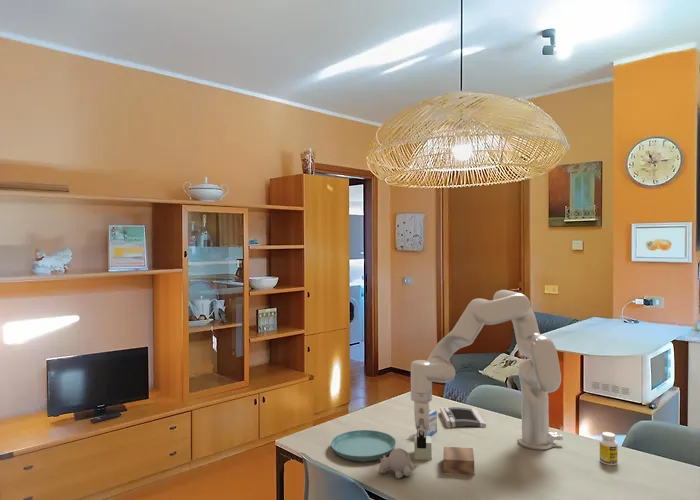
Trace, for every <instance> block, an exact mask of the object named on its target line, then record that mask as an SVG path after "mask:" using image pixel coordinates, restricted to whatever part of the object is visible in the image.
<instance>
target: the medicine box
mask: <svg viewBox="0 0 700 500" xmlns="http://www.w3.org/2000/svg"><path fill="white" fill-rule="evenodd" d="M435 432H436V433H437V432H438V413H437V410H435V409H431V408H429V430H426V436H431V437H432V435H434V434H436V433H435Z"/></svg>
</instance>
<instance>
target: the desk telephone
mask: <svg viewBox="0 0 700 500" xmlns="http://www.w3.org/2000/svg"><path fill="white" fill-rule="evenodd" d="M439 410H440V414H441V417H442V418H443V421H444V423H445V426H446V427H447V428H448V429H451V428H456V427H466V426H469V427H479V428H486V427H487V423H486V420H485V419H484V417H483V416H482V415H481V414H480V412H479V411H478V410H477V409H476V408H473V407H471V408H467V407H459V406H458V407H457V406H456V407H454V406H453V407H447V406H445V407H444V406H440V407H439Z"/></svg>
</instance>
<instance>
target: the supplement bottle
mask: <svg viewBox="0 0 700 500" xmlns="http://www.w3.org/2000/svg"><path fill="white" fill-rule="evenodd" d="M601 437H602V438H600V440H599V462H601V463H602V464H604V465H605V466H616V465H617V464H618V442H617V440H616V434H615V433H613V432H610V431H603V432H602V433H601Z"/></svg>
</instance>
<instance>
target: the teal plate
mask: <svg viewBox="0 0 700 500" xmlns="http://www.w3.org/2000/svg"><path fill="white" fill-rule="evenodd" d="M330 445H331V448H332V450H333V451H334V452H335V454H336V455H338V456H339V457H341V458H343V459H346V460H348V461H353V462H373V461H377V460H380V458H382V459H383V455H385V456H386V457H388V456H389V455H390V453H391V452H392V451H393V450H394V449H395V447H396V445H397V441H396V439H395V437H393V436H392V435H390V434H388V433H386V432H382V431H379V430H374V429H373V430H370V429H368V430H367V429H358V430H351V431H347V432H343V433H340V434H338V435H336V436H335V437H333V438H332V440H331V442H330Z"/></svg>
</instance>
